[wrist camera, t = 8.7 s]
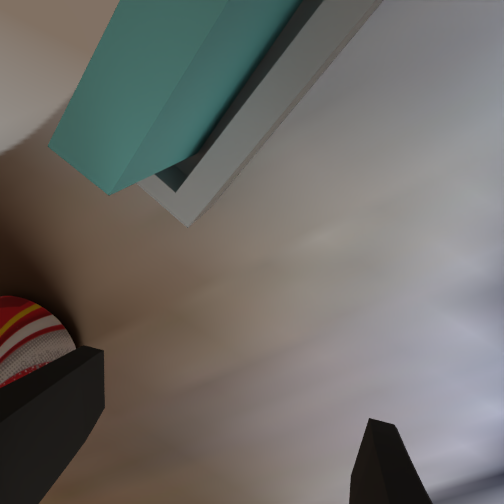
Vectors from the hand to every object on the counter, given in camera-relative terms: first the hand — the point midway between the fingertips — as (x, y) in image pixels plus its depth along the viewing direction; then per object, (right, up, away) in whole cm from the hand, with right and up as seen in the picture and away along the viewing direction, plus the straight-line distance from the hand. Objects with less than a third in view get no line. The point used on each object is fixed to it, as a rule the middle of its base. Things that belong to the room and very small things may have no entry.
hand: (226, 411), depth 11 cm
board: (0, +12, +4) cm, 13 cm away
